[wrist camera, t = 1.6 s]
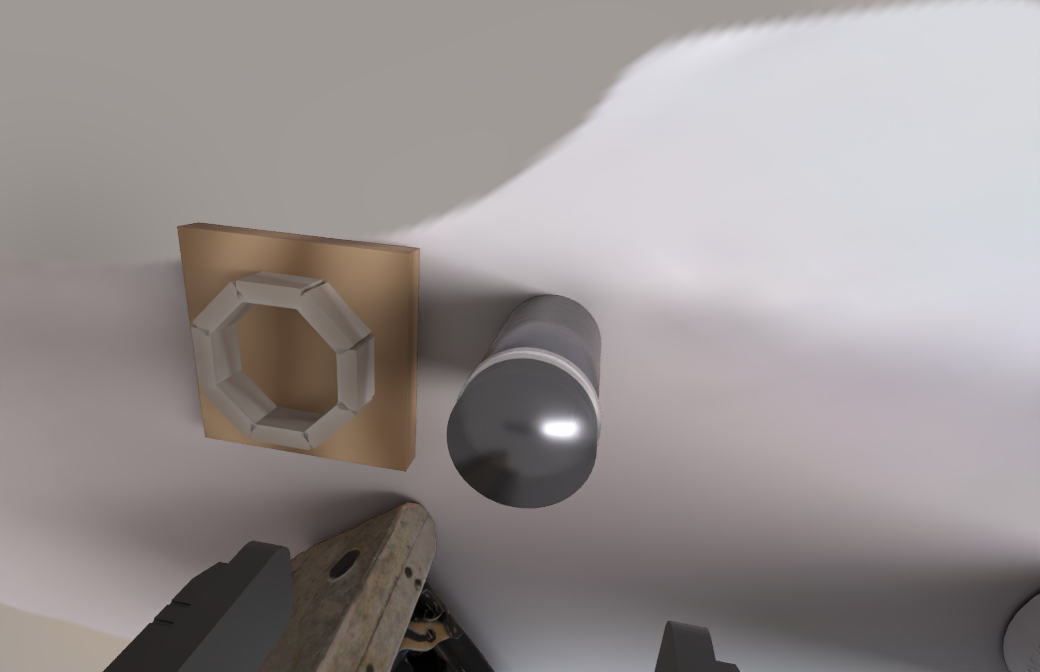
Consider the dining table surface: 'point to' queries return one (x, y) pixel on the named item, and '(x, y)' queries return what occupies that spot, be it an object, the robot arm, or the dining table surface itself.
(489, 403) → the lens
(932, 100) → the dining table surface
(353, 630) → the vintage camera
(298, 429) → the mount
